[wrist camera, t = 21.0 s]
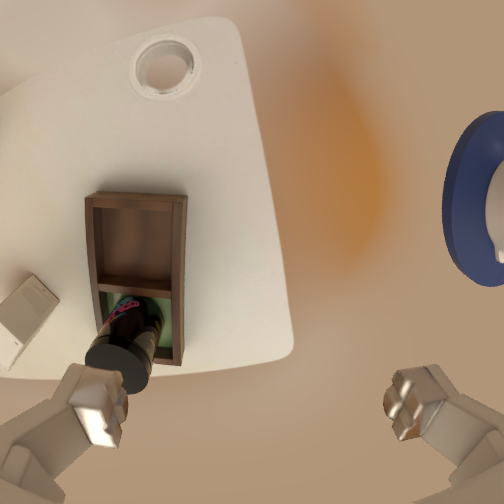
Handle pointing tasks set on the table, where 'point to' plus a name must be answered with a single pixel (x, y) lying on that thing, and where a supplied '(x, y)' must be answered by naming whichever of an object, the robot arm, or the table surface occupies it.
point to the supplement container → (129, 341)
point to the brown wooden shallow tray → (139, 258)
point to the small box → (23, 318)
